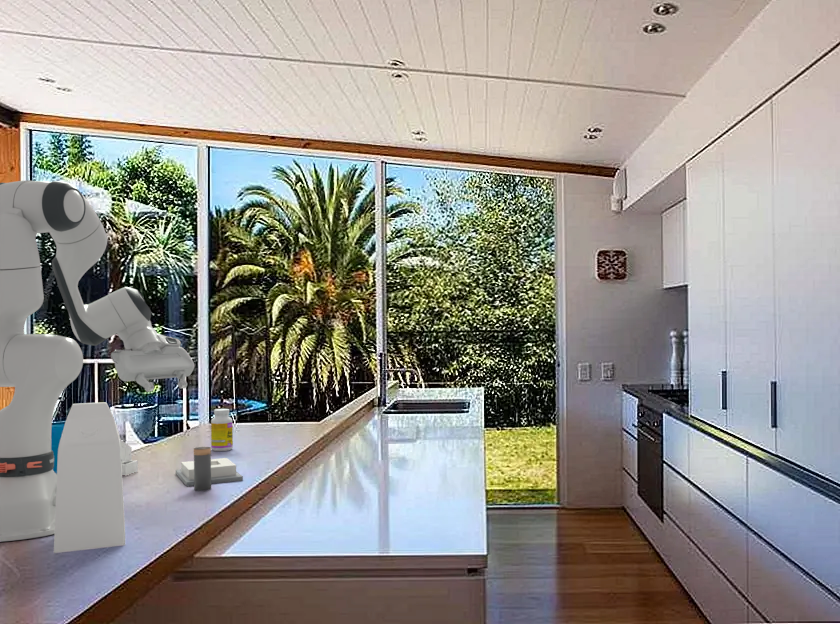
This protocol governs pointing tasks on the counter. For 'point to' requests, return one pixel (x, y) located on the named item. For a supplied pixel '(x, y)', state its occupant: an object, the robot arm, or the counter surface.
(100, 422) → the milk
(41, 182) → the robot arm
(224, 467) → the socket
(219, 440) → the supplement bottle
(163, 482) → the counter surface
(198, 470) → the battery
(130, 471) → the white angled block
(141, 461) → the counter surface
